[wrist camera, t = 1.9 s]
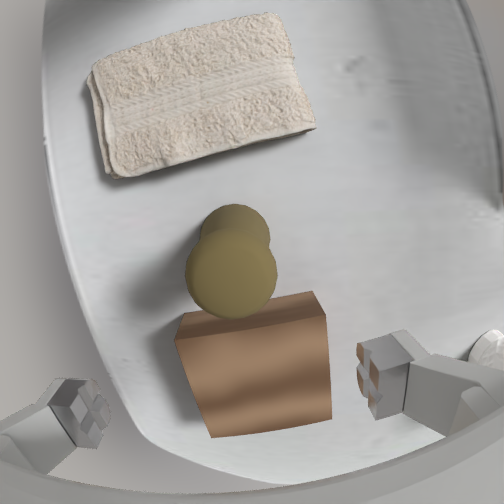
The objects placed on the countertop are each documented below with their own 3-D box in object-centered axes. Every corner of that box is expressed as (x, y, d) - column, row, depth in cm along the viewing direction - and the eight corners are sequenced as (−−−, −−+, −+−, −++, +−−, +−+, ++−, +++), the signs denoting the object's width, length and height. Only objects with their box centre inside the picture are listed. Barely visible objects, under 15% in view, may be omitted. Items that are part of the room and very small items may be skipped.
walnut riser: (184, 313, 28) (174, 340, 23) (312, 290, 28) (325, 314, 23) (214, 406, 31) (211, 438, 26) (321, 388, 31) (332, 419, 26)
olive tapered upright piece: (200, 272, 27) (177, 334, 17) (198, 204, 26) (169, 227, 15) (269, 272, 27) (285, 335, 17) (270, 204, 26) (291, 227, 15)
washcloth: (92, 73, 23) (77, 65, 20) (277, 17, 22) (281, 1, 19) (117, 188, 26) (103, 190, 23) (314, 132, 25) (323, 127, 22)
